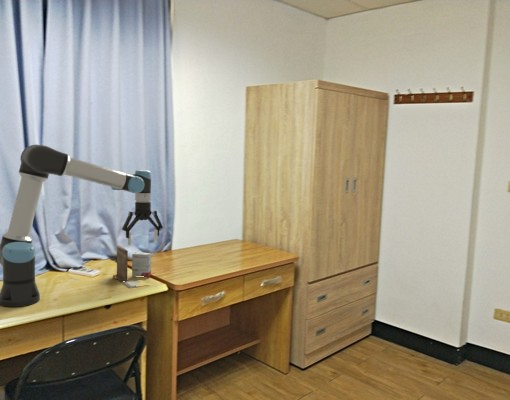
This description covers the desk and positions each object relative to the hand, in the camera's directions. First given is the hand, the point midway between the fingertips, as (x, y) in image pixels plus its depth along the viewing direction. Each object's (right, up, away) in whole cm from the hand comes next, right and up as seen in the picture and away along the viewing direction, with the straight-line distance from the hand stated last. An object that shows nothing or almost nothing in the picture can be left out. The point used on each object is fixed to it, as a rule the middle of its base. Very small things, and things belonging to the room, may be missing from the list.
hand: (142, 243), depth 233 cm
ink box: (-1, -17, +2) cm, 17 cm away
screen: (-9, -17, -4) cm, 20 cm away
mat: (0, -18, -12) cm, 22 cm away
